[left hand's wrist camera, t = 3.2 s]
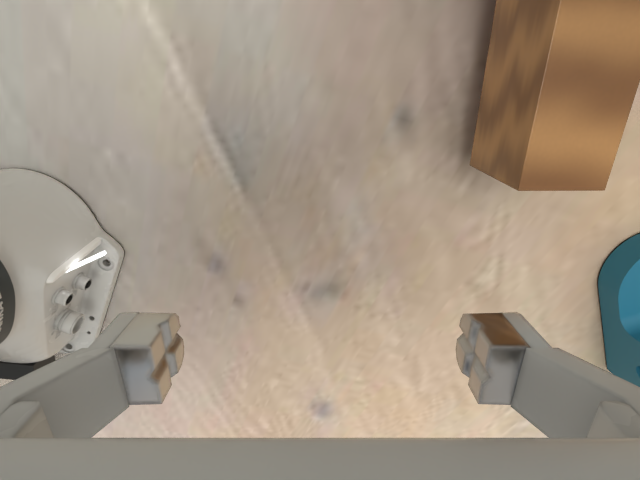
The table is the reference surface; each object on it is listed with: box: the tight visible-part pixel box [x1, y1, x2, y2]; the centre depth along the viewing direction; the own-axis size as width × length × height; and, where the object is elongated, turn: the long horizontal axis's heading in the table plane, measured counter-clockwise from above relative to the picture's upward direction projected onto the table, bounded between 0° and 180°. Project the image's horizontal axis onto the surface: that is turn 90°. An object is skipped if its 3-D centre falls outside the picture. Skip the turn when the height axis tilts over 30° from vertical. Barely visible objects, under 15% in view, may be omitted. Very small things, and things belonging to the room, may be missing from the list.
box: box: [470, 0, 640, 191], centre depth 24 cm, size 22×6×9 cm, turn 0°
